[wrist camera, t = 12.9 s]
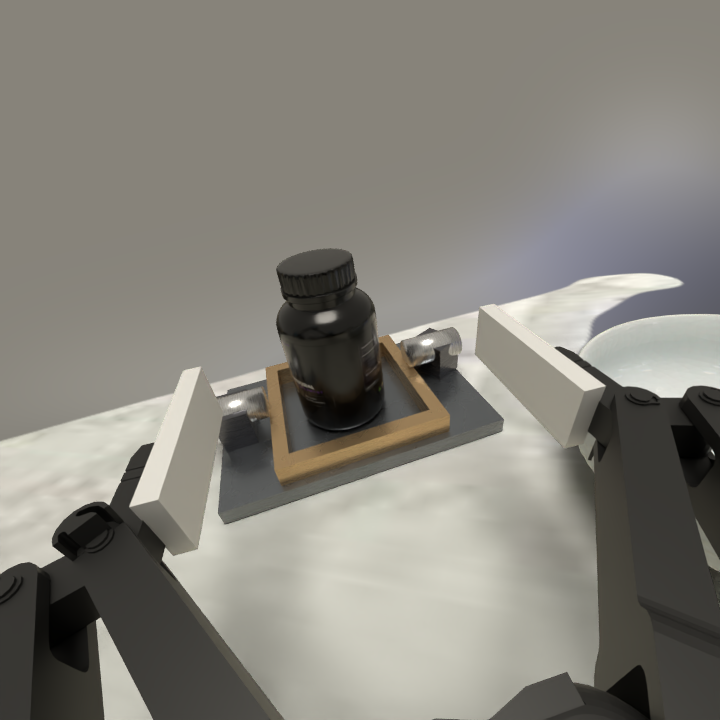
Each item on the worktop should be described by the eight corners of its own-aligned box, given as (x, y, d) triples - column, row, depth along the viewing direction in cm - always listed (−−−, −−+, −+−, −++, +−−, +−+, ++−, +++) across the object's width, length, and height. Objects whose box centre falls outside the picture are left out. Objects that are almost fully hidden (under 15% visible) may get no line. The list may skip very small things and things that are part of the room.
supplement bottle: (291, 431, 26) (236, 284, 19) (319, 376, 31) (284, 246, 24) (378, 438, 24) (352, 278, 17) (392, 378, 29) (377, 238, 22)
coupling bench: (217, 526, 21) (184, 480, 18) (226, 401, 32) (207, 360, 29) (505, 429, 24) (513, 378, 22) (426, 345, 35) (426, 303, 32)
